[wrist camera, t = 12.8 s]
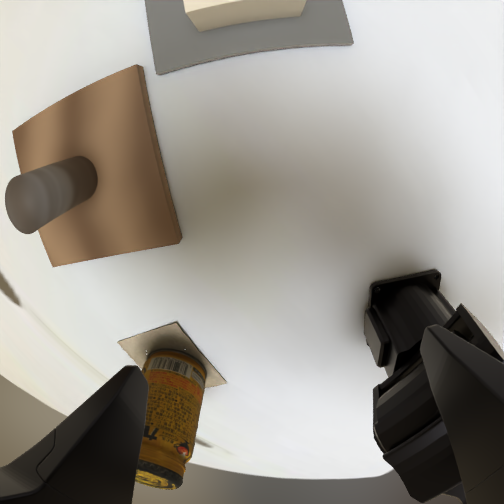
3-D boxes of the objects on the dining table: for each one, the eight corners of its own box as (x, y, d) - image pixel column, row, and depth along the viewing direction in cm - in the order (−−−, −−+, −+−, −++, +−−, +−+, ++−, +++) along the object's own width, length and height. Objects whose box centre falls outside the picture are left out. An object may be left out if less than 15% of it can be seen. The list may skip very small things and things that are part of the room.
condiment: (169, 394, 27) (144, 490, 16) (117, 340, 24) (67, 444, 13) (227, 381, 26) (214, 494, 15) (177, 320, 22) (133, 450, 12)
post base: (142, 66, 14) (83, 45, 8) (182, 237, 19) (147, 295, 13) (20, 129, 15) (-43, 145, 9) (58, 261, 20) (11, 307, 14)
